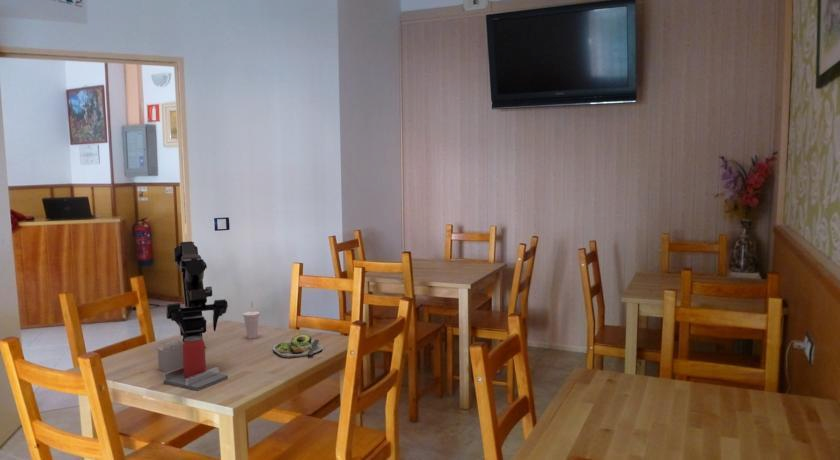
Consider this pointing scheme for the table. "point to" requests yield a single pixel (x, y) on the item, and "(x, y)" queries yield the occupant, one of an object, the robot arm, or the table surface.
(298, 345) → the salad plate
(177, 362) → the paw print puck
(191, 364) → the beer can
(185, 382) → the rail board
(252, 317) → the smoothie
